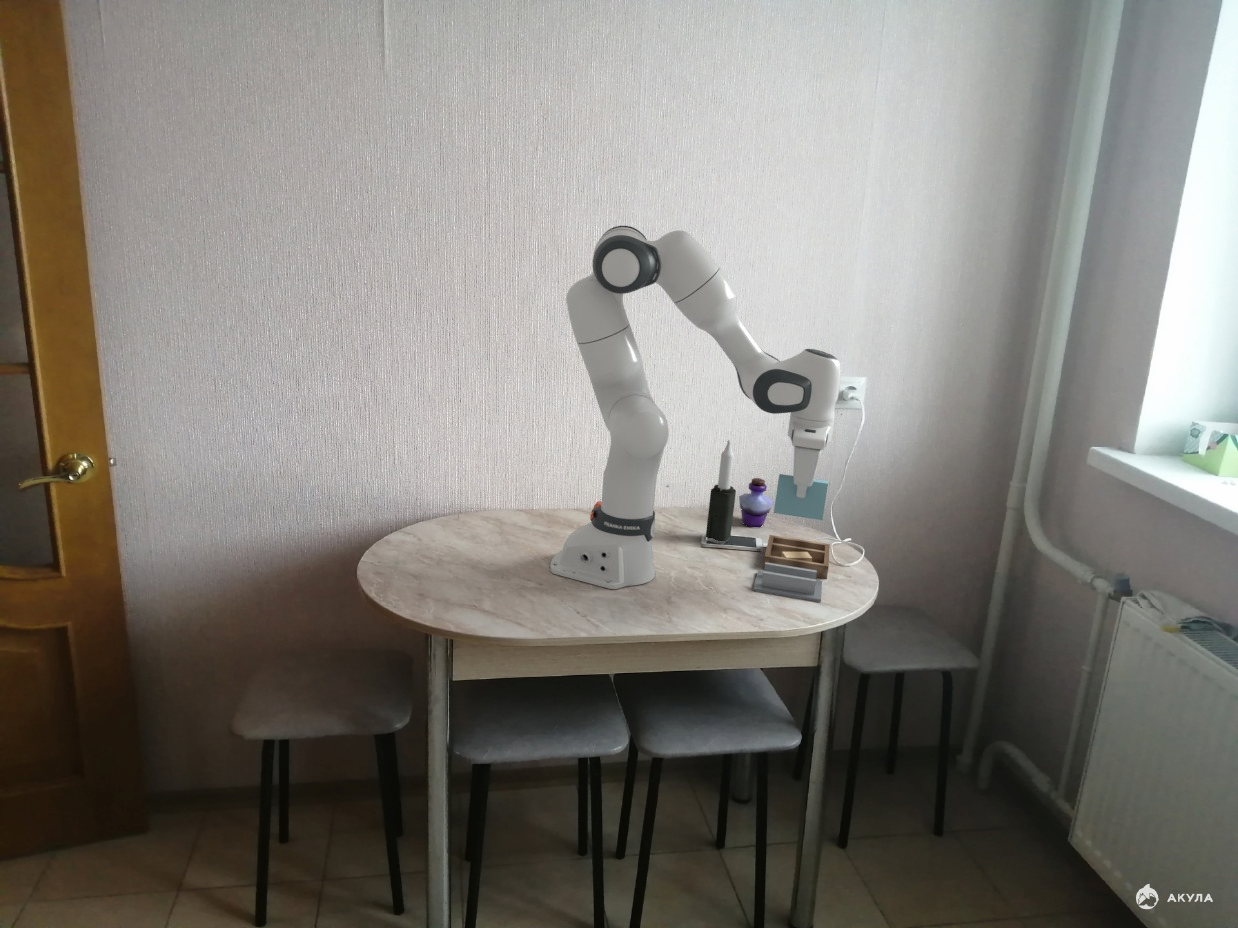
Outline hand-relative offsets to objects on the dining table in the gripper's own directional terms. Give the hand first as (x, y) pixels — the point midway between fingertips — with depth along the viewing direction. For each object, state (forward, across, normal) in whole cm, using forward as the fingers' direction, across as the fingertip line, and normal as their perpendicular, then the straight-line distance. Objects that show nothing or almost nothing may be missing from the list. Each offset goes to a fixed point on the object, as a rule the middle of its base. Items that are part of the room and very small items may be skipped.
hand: (800, 494), depth 184 cm
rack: (+21, -15, +1) cm, 26 cm away
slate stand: (+21, 0, 0) cm, 21 cm away
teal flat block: (+5, 0, 0) cm, 5 cm away
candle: (+21, -21, -18) cm, 35 cm away
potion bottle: (+21, -36, -11) cm, 43 cm away
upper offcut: (+20, -12, +1) cm, 23 cm away
